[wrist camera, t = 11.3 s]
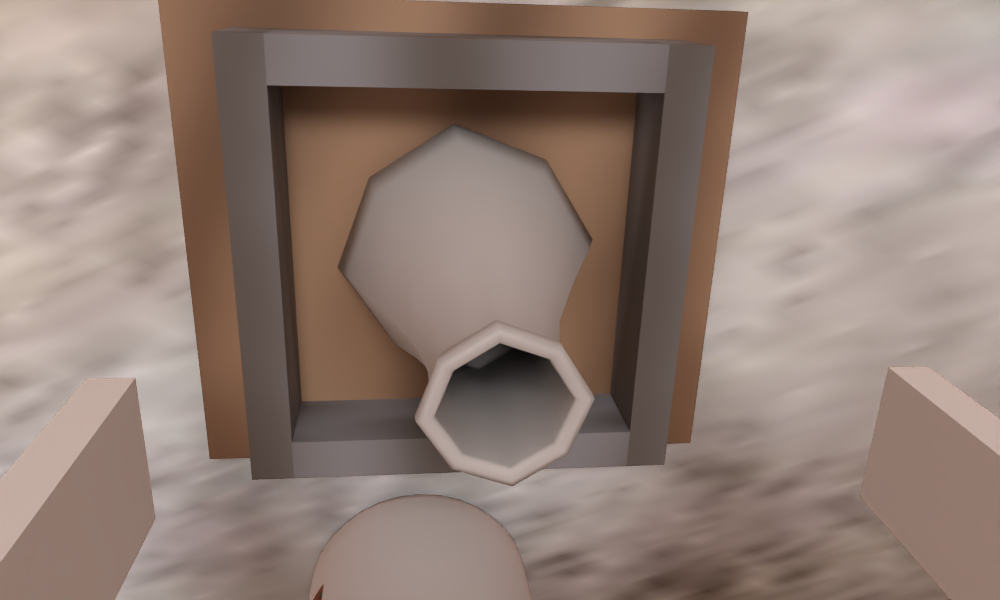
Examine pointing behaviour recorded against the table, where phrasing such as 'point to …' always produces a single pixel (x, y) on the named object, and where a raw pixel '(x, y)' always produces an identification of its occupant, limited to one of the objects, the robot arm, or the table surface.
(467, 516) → the milk bottle
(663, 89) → the rectangular tray
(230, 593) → the table surface
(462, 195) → the flask
